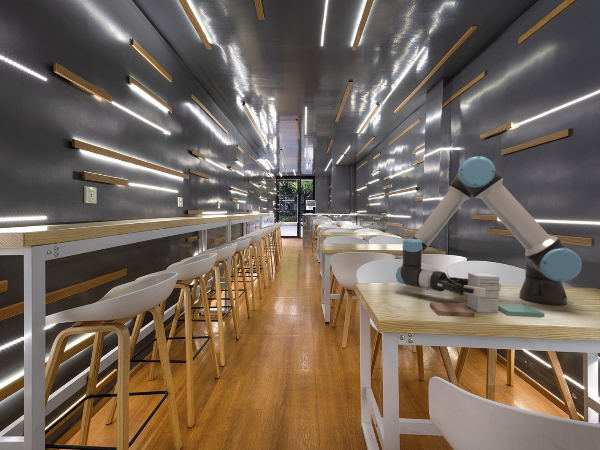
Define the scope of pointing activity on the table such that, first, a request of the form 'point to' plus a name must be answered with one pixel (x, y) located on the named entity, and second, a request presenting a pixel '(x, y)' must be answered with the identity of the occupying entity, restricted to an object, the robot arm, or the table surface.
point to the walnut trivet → (452, 309)
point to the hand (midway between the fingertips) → (493, 290)
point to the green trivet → (519, 310)
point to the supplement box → (491, 292)
